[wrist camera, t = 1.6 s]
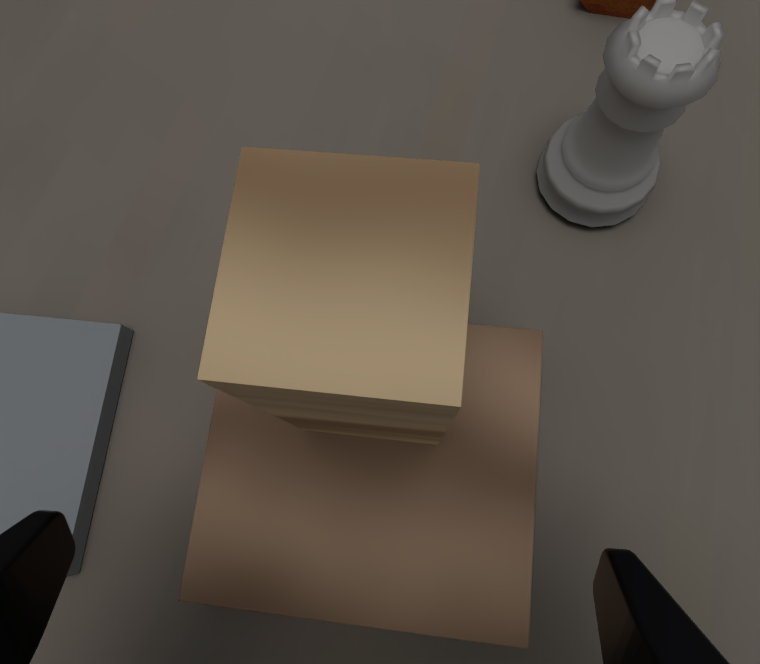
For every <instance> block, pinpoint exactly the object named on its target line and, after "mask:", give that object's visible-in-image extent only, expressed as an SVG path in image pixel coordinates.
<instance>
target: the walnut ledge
mask: <svg viewBox="0 0 760 664" xmlns="http://www.w3.org/2000/svg"><path fill="white" fill-rule="evenodd" d="M542 340H543V331H540V330H529V329H518V328H507V327H497V326H486V325H475V324H467V336H466V349H465V362H464V375H463V387H462V400H461V408H460V409H459V411H458V413H457V414H456V416H455V418H454V419H453V421H452V422H451V424H450V426H449V427H448V429H447V431H446V432H445V434H444V436H443V437H442V439H441V441H440V442H439V444H438V445H432V444H423V443H414V442H405V441H396V440H387V439H378V438H369V437H360V436H351V435H342V434H333V433H324V432H315V431H306V430H303V429H300V428H298V427H296V426H294V425H292V424H290V423H288V422H286V421H284V420H282V419H279V418H277V417H275V416H273V415H271V414H269V413H267V412H265V411H263V410H261V409H258V408H256V407H254V406H252V405H250V404H248V403H246V402H244V401H242V400H240V399H237V398H235V397H233V396H231V395H229V394H227V393H225V392H223V391H221V390H219V389H217V392H216V397H215V403H214V408H213V414H212V419H211V425H210V430H209V436H208V441H207V446H206V452H205V457H204V463H203V468H202V474H201V479H200V485H199V490H198V496H197V501H196V507H195V512H194V518H193V523H192V529H191V534H190V539H189V545H188V550H187V556H186V561H185V567H184V572H183V578H182V583H181V589H180V594H179V600H178V601H183V602H191V603H198V604H205V605H212V606H220V607H227V608H234V609H241V610H249V611H256V612H263V613H270V614H278V615H285V616H292V617H299V618H306V619H314V620H321V621H328V622H335V623H343V624H350V625H357V626H364V627H372V628H379V629H386V630H393V631H401V632H408V633H415V634H422V635H430V636H437V637H444V638H451V639H459V640H466V641H473V642H480V643H488V644H495V645H502V646H509V647H516V648H524V649H529V627H530V605H531V583H532V561H533V539H534V517H535V495H536V473H537V451H538V429H539V407H540V385H541V363H542Z"/></svg>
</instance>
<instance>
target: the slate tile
mask: <svg viewBox="0 0 760 664" xmlns="http://www.w3.org/2000/svg"><path fill="white" fill-rule="evenodd" d="M132 335H133V331H132V330H130V329H129V328H127V327H125V326H123V325H121V324H112V323H101V322H91V321H81V320H70V319H60V318H50V317H40V316H29V315H19V314H9V313H0V534H1V533H3V532H4V531H6V530H7V529H9V528H10V527H12V526H13V525H15V524H16V523H18V522H19V521H21V520H22V519H23V518H25V517H26V516H28V515H29V514H31V513H33V512H35V511H38V510H49V511H59V512H61V513H63V514H64V516H65V518H66V520H67V523H68V525H69V528H70V530H71V533H72V535H73V538H74V540H75V545H76V550H75V556H74V559H73V561H72V564H71V566H70V569H69V571H68V574H67V576H70V575H74V574H78V573H79V572H80V568H81V563H82V559H83V554H84V550H85V545H86V541H87V536H88V532H89V527H90V523H91V518H92V514H93V510H94V505H95V501H96V496H97V492H98V487H99V483H100V478H101V474H102V469H103V465H104V460H105V456H106V451H107V447H108V443H109V438H110V434H111V429H112V425H113V420H114V416H115V411H116V407H117V402H118V398H119V393H120V389H121V384H122V380H123V376H124V371H125V367H126V362H127V358H128V353H129V349H130V344H131V340H132ZM67 576H66V577H67Z"/></svg>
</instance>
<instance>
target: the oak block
mask: <svg viewBox="0 0 760 664" xmlns="http://www.w3.org/2000/svg"><path fill="white" fill-rule="evenodd" d="M479 171H480V163H470V162H455V161H441V160H426V159H412V158H397V157H383V156H369V155H354V154H340V153H325V152H311V151H297V150H282V149H268V148H253V147H242V149H241V154H240V159H239V165H238V170H237V175H236V180H235V185H234V191H233V196H232V201H231V206H230V211H229V217H228V222H227V227H226V232H225V237H224V243H223V248H222V253H221V258H220V263H219V269H218V274H217V279H216V284H215V290H214V295H213V300H212V305H211V310H210V316H209V321H208V326H207V331H206V336H205V342H204V347H203V352H202V357H201V362H200V368H199V373H198V378H197V379H198V380H200V381H202V382H204V383H206V384H208V385H210V386H212V387H214V388H216V389H219V390H221V391H223V392H225V393H227V394H229V395H231V396H233V397H235V398H237V399H240V400H242V401H244V402H246V403H248V404H250V405H252V406H254V407H256V408H258V409H261V410H263V411H265V412H267V413H269V414H271V415H273V416H275V417H277V418H279V419H282V420H284V421H286V422H288V423H290V424H292V425H294V426H296V427H298V428H300V429H303V430H306V431H315V432H324V433H333V434H342V435H351V436H360V437H369V438H378V439H387V440H396V441H405V442H414V443H423V444H432V445H438V444H439V442H440V441H441V439H442V437H443V436H444V434H445V432H446V431H447V429H448V427H449V426H450V424H451V422H452V421H453V419H454V418H455V416H456V414H457V413H458V411H459V409H460V408H461V400H462V387H463V375H464V362H465V349H466V336H467V324H468V311H469V298H470V285H471V273H472V260H473V247H474V234H475V222H476V209H477V196H478V183H479Z"/></svg>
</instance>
